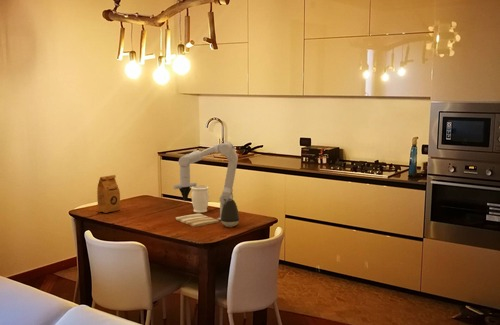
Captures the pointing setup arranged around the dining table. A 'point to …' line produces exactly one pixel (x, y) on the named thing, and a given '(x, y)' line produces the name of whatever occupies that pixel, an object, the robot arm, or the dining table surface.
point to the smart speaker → (229, 213)
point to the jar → (200, 198)
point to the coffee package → (108, 195)
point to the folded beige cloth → (202, 221)
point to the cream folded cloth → (190, 217)
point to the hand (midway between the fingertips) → (185, 200)
